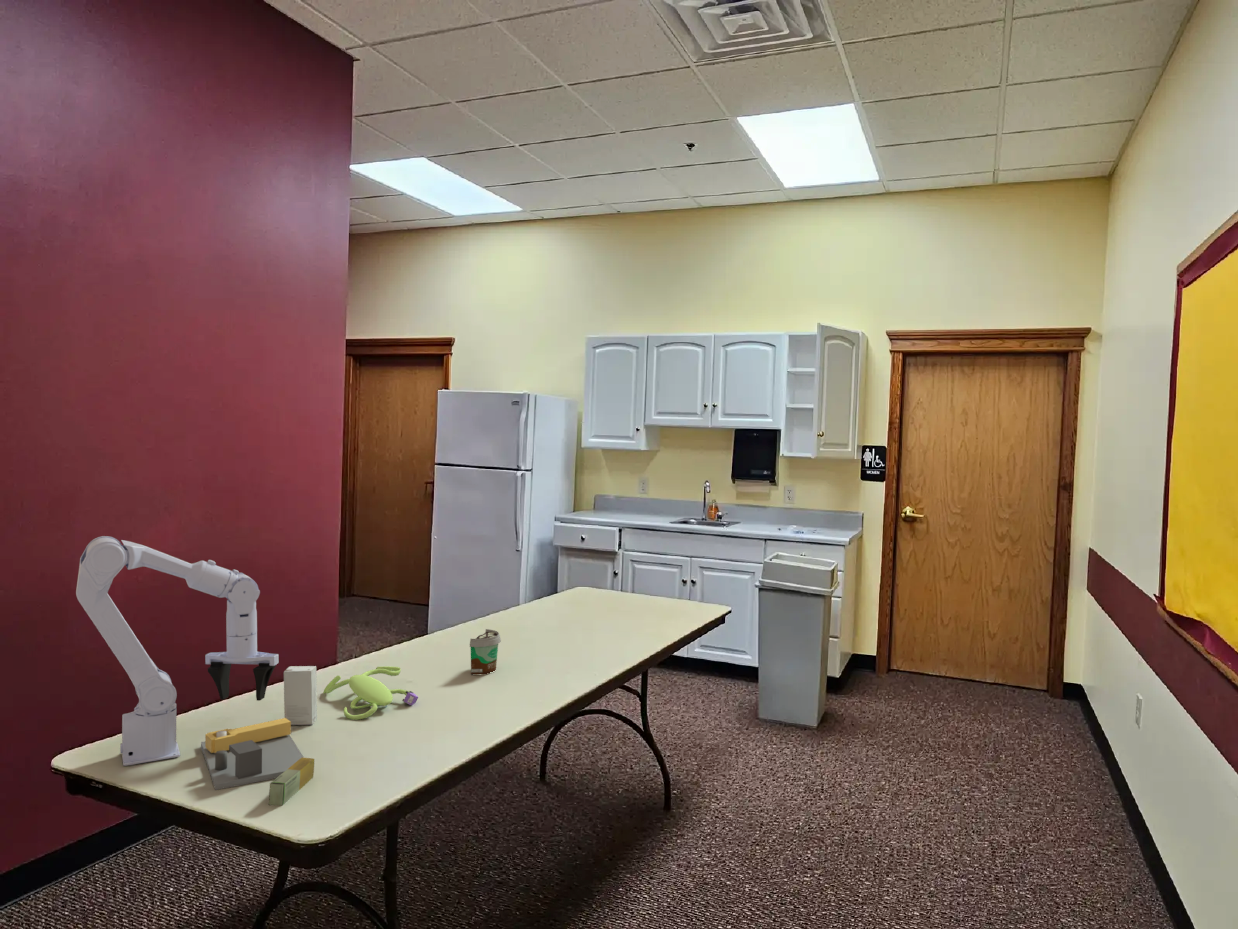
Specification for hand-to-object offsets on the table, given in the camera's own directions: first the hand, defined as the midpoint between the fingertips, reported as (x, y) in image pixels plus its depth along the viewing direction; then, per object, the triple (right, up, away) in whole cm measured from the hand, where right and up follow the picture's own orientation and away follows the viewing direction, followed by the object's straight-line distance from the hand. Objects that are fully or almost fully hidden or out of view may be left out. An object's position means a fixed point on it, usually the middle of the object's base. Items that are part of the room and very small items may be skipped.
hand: (242, 698), depth 168 cm
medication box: (+20, -10, -23) cm, 32 cm away
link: (+3, -7, -4) cm, 9 cm away
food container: (+42, -8, +53) cm, 68 cm away
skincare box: (+8, -9, +11) cm, 16 cm away
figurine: (+18, -9, +28) cm, 34 cm away
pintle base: (+7, -9, -10) cm, 15 cm away
